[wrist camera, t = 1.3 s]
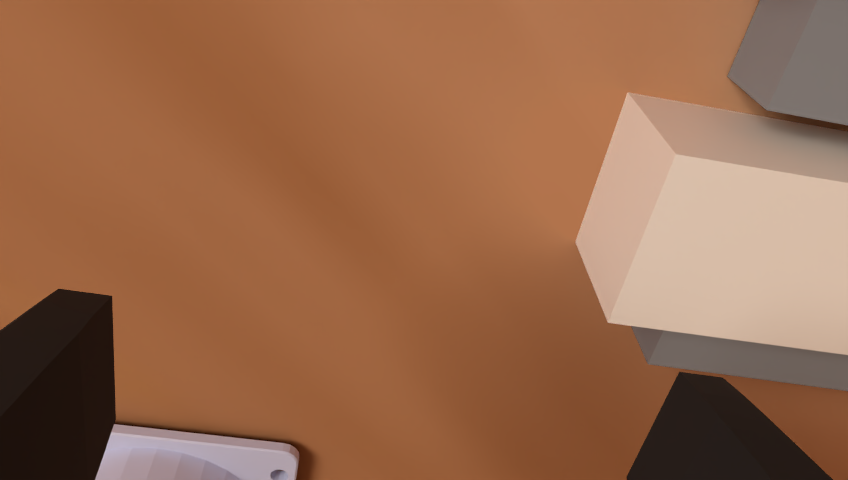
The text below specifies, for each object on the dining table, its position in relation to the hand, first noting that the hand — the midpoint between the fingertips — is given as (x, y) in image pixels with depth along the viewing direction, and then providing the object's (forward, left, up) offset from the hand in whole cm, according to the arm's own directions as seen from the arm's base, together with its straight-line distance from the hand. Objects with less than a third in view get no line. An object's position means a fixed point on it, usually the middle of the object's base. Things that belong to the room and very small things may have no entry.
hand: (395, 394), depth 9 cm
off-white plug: (0, -9, -9) cm, 13 cm away
